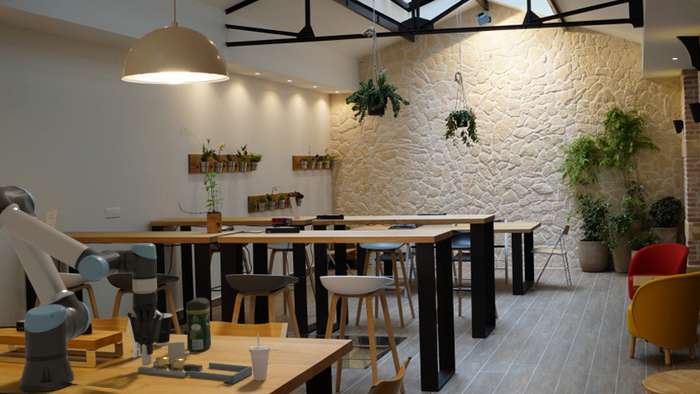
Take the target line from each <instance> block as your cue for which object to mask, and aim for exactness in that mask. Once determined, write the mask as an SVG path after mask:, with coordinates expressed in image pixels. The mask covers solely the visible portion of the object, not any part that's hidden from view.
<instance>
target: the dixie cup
mask: <svg viewBox="0 0 700 394" xmlns="http://www.w3.org/2000/svg"><path fill="white" fill-rule="evenodd" d="M163 313H164V312H163ZM154 317H155V316H154ZM172 317H173V314H172V313H166V312H165V313H164V317H163V319H162V321H161V327H160V333H159V338H158V342H155V343H154V344H155V345H156V346H161V347H162V346H168V343H170V340H171V339H170V338H171V328H172ZM154 319H155V318H154ZM153 323H154V322H153Z"/></svg>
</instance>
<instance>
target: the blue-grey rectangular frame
mask: <svg viewBox="0 0 700 394" xmlns="http://www.w3.org/2000/svg"><path fill="white" fill-rule="evenodd" d="M208 368H209V369H217V370H218V369H219V370H227V371H235V372H236V373H234V374H225V373H223V374H222V373H214V372H205V371H204V372H203V371H199V372H195V371H190V376H189V377H190V378H199V379H210V380H217V381H219V380H220V381H223V384H228V385H235V384H236V383H239V382H240V381H242V380H244V379H246V378H248V377H249V376H252V375H253V367H252V365H251V366H249V365H239V364H229V363H227V364H226V363H217V362H208ZM237 371H238V372H237Z"/></svg>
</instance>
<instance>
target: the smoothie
mask: <svg viewBox="0 0 700 394" xmlns="http://www.w3.org/2000/svg"><path fill="white" fill-rule="evenodd" d="M256 337H257V338H256V339H257V341H256V343H257V345H252V346H250V347H249V348H248V349H249V353H250V360H251V367H252V375H253V380H254V381H256V380H257V381H258V380H262V381H265V379H266V380H267V378H268V365H269V358H270V356H269V355H270V351H271V347H270V346H269V345H264V344H261V345H260V333H259V332H257V333H256Z"/></svg>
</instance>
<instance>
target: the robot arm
mask: <svg viewBox="0 0 700 394" xmlns="http://www.w3.org/2000/svg"><path fill="white" fill-rule="evenodd" d="M36 206H37V205H36V200H35V198H34V196H33V195H32V193H30V191H28V190H27V189H25V188H24V187H23V188H22V187H20V186H13V185H10V186H9V185H8V186H0V234H1V235H5V236H7V237H8V239H9V241H10V243H11V245H12V247H13V250H14V251H15V253H16V255H17V257H18V259H19V262H20V263H21V265H22V268H23V270H24V271H25V273H26V275H27V277H28V280H29V281H30V283H31V286H32V287H33V290H34V291H35V294H36V295H37V297H38V299H39V302H40V304H39V306H36V307H33V308H31V309H29V310H28V311H27V312H26V313H25V315H24V322H23V327H24V349H25V351H24V352H25V353H24V354H25V358H24V359H25V363H24V367H23V371H22V375H21V377H20V380H19V390H21V391H23V392H28V393H29V392H30V393H38V392H39V393H40V392H41V393H43V392H49V391H50V392H51V391H55V390H60V389H64V388H67V387H69V386H72V385H73V382H74V380H75V372H74V371H73V370H72V366H71V363H70V359H69V358H68V342H69V341H70V342H71V341H72V340H75V339H77V338H78V337H80V336H81V335H82V334H84V333H85V332H86V330H88V328H89V326H90V324H91V318H92V316H91V312H90V309H89V307H88V306H87V305H86V303H84V302H82V301H79V300H78V298H77V296H76V294H75V292H74V291H70V290H68V289H67V287H66V285H65V283H64V281H63V279H62V277H61V274H60V273H59V271H58V269H57V267H56V265H55V262H54V260H53V259H52V257H53V258H54V259H56V260H58V261H60V262H61V263H64V264H66V265H67V266H69V267H71V268H73V269H75V270H76V271H78V272H79V275H80V277H82V278H83V279H84V280H86V281H92V282H93V281H99V280H102V279H104V278H107V277H109V276H112V275H115V274H116V275H118V274H132V292H133V293H132V304H133V305H134V306H133V310H132V311H130V312H127V313H126V314H127V316H128V319H129V321H130V323H131V326H132V331H133V336H134V340H135V342H138V343H139V344H140V353H141V354H142V356H141V362H142V363H141V364H142V366H144V367H147V366H148V365H151V364H153V363H152V354H153V353H154V344H156V343H155V342H158V338H159V333H160V327H161V321H162V319H163V317H164V312H160V311H159V310H158V309H159V308H158V306H157V304H158V291H156V290H157V289H158V279H157V276H158V275H157V274H158V273H157V272H158V271H157V270H158V269H157V267H158V266H157V261H158V260H157V259H158V256H157V248H156V245H155V244H154V243H150V242H149V243H148V242H147V243H146V242H143V243H133V244H132V245H131V249H128V250H123V249H122V250H121V249H120V250H117V249H116V250H110V249H106V250H105V249H103V250H97V251H96V250H94V249H93V248H90V247H89V246H87V245H85V244H83V243H81V242H80V241H78V240H77V239H75V238H73V237H70V236H69V235H67V234H65V233H63V232H62V231H59V230H58V229H56V228H55V227H52V226H50V225H48V224H47V223H45V222H43V221H41V220H39V219H38V218H37V215H36V214H35V210H36ZM154 316H155V317H154ZM154 318H155V319H154ZM153 322H154V323H153Z"/></svg>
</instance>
